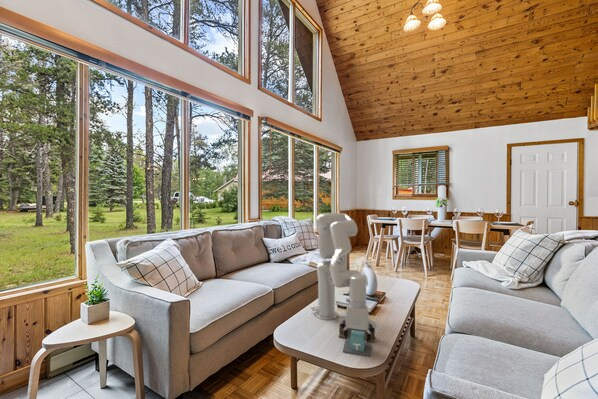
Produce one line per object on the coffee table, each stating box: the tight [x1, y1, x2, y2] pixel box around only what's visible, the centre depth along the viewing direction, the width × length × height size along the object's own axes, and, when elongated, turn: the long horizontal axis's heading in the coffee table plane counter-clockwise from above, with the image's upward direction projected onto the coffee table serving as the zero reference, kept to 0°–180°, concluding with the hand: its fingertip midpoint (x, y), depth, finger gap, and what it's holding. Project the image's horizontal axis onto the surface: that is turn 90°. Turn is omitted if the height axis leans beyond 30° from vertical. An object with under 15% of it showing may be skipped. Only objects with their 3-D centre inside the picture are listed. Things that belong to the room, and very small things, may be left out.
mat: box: [342, 339, 372, 357], centre depth 127 cm, size 12×10×1 cm
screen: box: [338, 320, 376, 344], centre depth 137 cm, size 17×6×8 cm, turn 74°
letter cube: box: [349, 330, 366, 352], centre depth 127 cm, size 6×6×6 cm
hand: (357, 339), depth 127 cm, fingers open, 9 cm apart
